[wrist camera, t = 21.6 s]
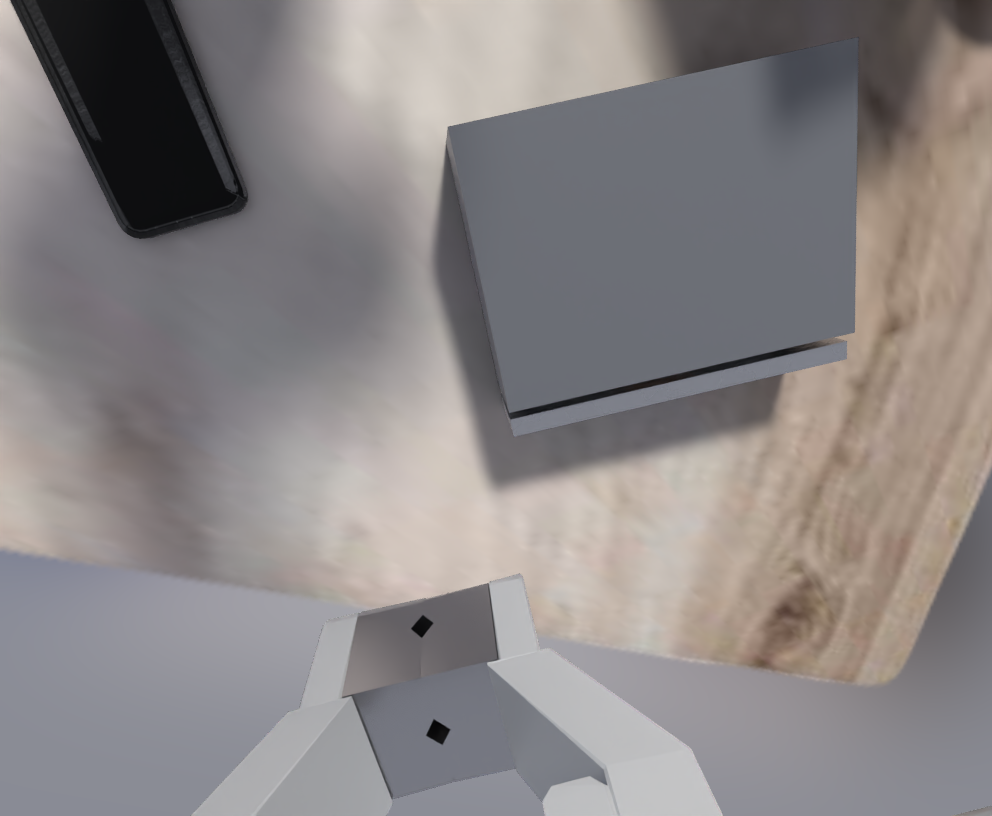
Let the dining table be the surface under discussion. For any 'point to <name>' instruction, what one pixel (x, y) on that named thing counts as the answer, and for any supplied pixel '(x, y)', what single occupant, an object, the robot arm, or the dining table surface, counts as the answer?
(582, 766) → the robot arm
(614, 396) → the tray
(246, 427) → the dining table surface
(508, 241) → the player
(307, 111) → the dining table surface
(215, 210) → the phone
